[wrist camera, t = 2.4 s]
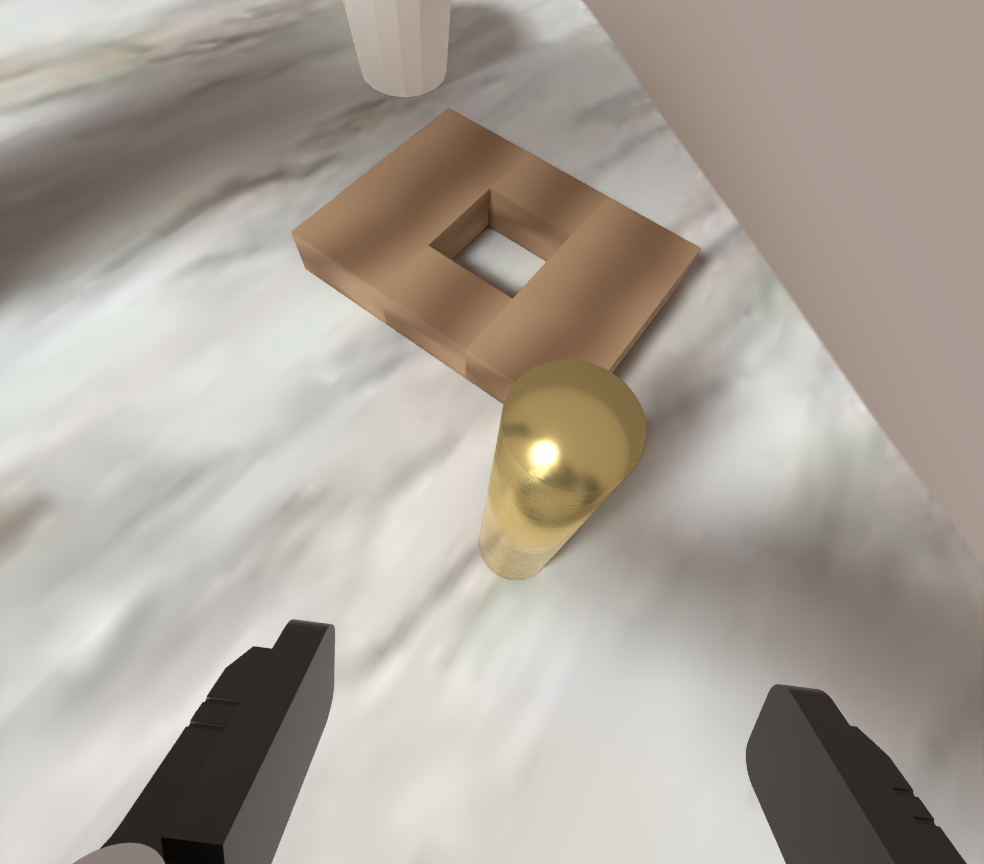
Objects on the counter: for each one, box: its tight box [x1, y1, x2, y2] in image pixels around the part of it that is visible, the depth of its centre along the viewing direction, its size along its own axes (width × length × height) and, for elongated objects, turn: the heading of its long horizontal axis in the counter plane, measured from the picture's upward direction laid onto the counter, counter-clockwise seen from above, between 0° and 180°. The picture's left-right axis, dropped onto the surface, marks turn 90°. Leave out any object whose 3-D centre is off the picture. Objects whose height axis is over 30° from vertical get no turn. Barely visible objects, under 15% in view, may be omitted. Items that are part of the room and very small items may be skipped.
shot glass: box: [343, 0, 451, 97], centre depth 31 cm, size 7×7×7 cm
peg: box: [479, 359, 647, 580], centre depth 16 cm, size 3×3×12 cm
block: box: [291, 108, 701, 404], centre depth 26 cm, size 16×12×2 cm
